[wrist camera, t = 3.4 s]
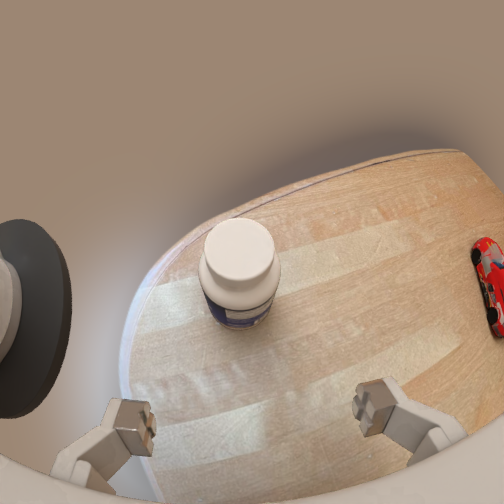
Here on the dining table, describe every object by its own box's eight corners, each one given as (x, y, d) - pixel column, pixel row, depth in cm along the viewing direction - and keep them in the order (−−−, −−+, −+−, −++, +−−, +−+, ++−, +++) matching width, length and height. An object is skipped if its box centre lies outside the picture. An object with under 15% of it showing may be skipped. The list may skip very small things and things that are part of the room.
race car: (464, 242, 29) (482, 226, 25) (487, 243, 29) (504, 228, 25) (489, 342, 22) (512, 332, 19) (511, 334, 23) (532, 325, 19)
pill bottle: (204, 277, 25) (187, 213, 17) (263, 267, 26) (275, 201, 17) (213, 335, 23) (196, 299, 14) (276, 324, 23) (298, 282, 15)
